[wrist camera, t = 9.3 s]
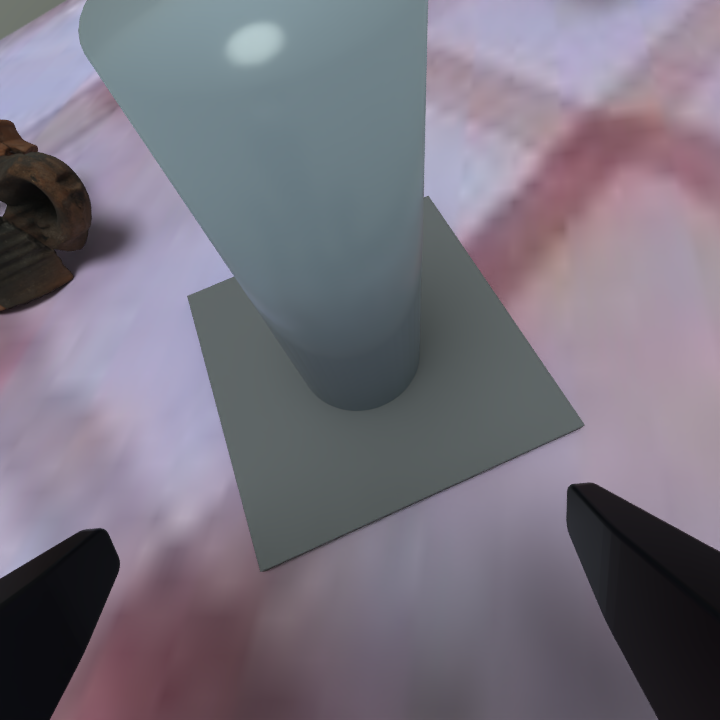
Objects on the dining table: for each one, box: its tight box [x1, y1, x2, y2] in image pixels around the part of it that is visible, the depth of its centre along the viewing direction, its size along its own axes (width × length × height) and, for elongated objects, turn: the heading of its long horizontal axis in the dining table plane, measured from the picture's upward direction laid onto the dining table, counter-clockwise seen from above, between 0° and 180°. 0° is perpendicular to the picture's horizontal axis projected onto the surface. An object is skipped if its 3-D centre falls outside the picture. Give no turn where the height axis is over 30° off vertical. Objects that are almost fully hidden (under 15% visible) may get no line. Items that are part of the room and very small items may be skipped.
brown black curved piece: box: [0, 120, 92, 311], centre depth 24 cm, size 12×9×8 cm
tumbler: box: [78, 0, 428, 411], centre depth 13 cm, size 6×6×14 cm
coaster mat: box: [187, 196, 584, 572], centre depth 19 cm, size 14×14×1 cm
